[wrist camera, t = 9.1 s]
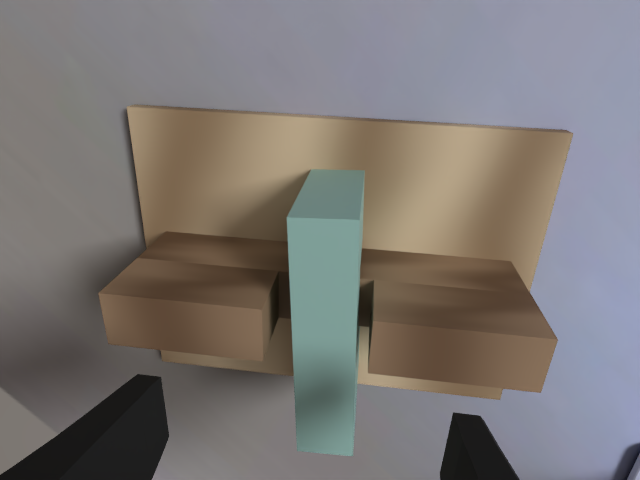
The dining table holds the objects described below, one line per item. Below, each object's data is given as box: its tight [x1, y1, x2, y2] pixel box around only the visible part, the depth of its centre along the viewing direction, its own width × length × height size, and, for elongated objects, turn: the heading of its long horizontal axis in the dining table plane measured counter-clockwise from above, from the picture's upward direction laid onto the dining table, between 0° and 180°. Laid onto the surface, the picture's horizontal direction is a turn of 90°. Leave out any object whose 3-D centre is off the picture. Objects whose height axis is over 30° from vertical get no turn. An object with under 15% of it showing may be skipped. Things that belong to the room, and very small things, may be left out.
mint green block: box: [287, 169, 365, 456], centre depth 16 cm, size 2×9×5 cm, turn 1°
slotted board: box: [98, 105, 573, 400], centre depth 16 cm, size 16×12×6 cm
